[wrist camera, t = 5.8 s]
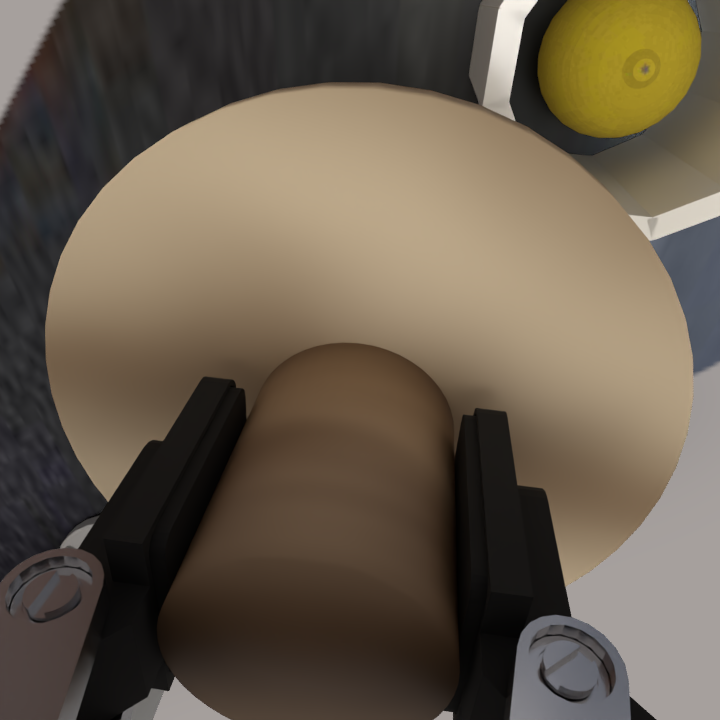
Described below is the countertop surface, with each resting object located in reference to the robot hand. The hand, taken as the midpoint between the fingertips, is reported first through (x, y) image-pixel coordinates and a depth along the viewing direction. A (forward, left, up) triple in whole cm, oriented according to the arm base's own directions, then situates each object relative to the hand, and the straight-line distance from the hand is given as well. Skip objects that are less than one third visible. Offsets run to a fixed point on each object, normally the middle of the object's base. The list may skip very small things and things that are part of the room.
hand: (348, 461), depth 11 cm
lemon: (+6, -8, -22) cm, 24 cm away
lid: (0, 0, -2) cm, 2 cm away
